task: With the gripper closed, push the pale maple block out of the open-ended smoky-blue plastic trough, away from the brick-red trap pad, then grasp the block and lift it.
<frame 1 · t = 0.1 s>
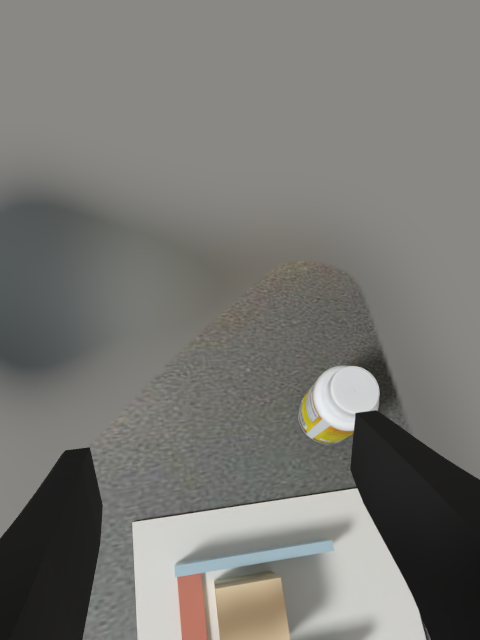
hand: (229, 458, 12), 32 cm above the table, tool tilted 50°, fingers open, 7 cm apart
maple block: (247, 609, 38), resting on white mat
white mat: (280, 617, 38), on the table
trough: (258, 607, 38), resting on white mat
supplement bottle: (323, 416, 46), on the table
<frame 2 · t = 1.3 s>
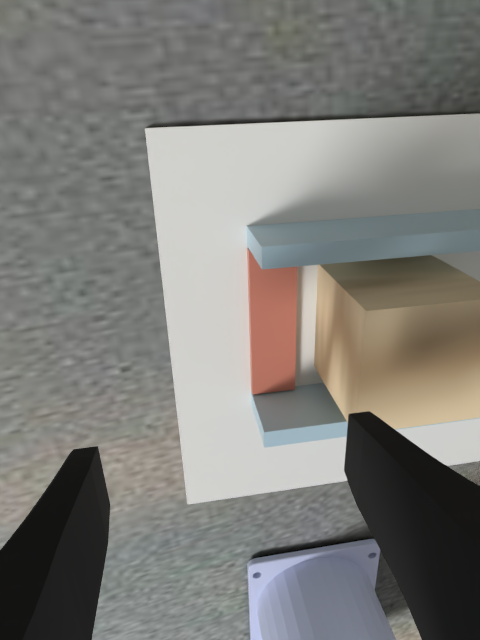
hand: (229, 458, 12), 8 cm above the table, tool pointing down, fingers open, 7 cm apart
maple block: (369, 311, 21), resting on white mat
white mat: (420, 323, 22), on the table
trough: (390, 309, 21), resting on white mat
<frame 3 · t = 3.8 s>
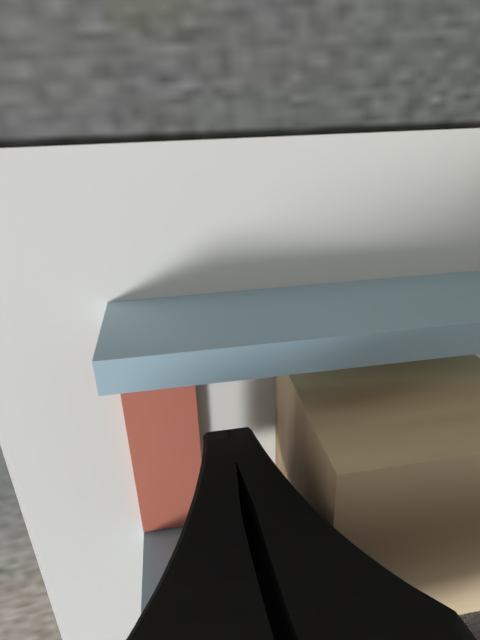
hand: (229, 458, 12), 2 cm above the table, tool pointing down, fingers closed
maple block: (354, 408, 14), resting on white mat, touching gripper
white mat: (389, 424, 15), on the table
trough: (343, 411, 14), resting on white mat
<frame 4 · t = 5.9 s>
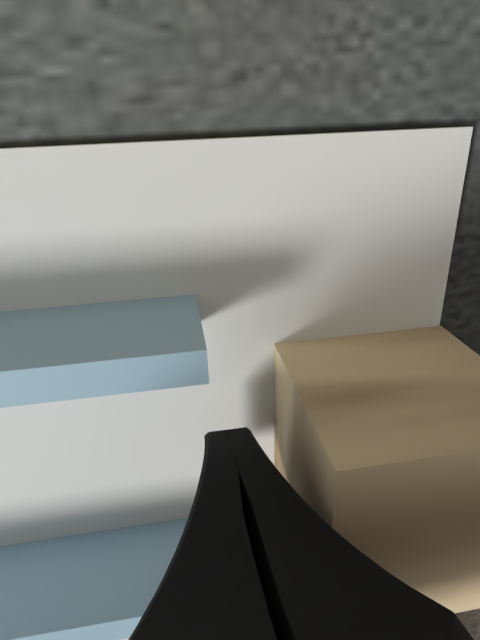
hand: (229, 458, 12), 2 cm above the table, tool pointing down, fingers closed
maple block: (353, 406, 14), resting on white mat, touching gripper
white mat: (49, 469, 14), on the table
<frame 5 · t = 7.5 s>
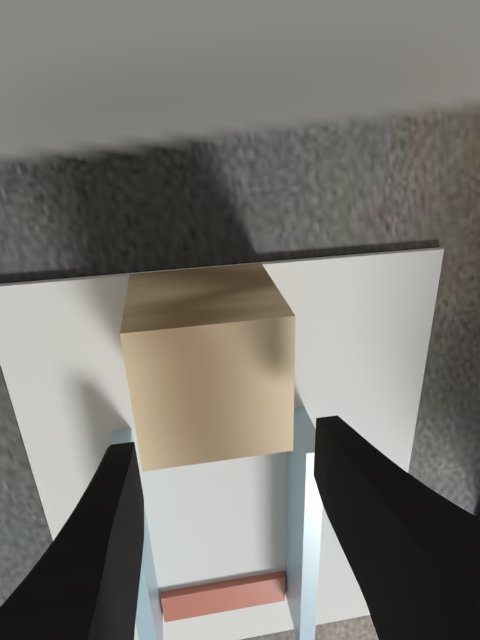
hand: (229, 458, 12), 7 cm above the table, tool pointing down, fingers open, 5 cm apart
maple block: (201, 327, 19), resting on white mat
white mat: (236, 489, 23), on the table
trough: (219, 522, 23), resting on white mat
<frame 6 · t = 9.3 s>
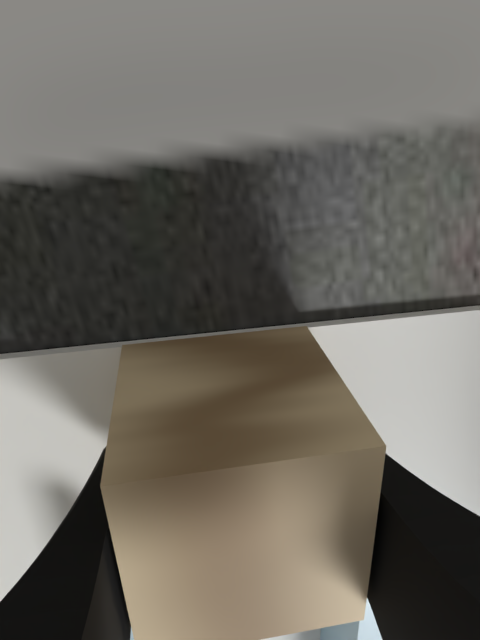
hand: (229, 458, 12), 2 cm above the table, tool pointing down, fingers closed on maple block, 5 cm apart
maple block: (221, 411, 13), resting on white mat, touching gripper
white mat: (258, 599, 18), on the table
trough: (235, 639, 18), resting on white mat
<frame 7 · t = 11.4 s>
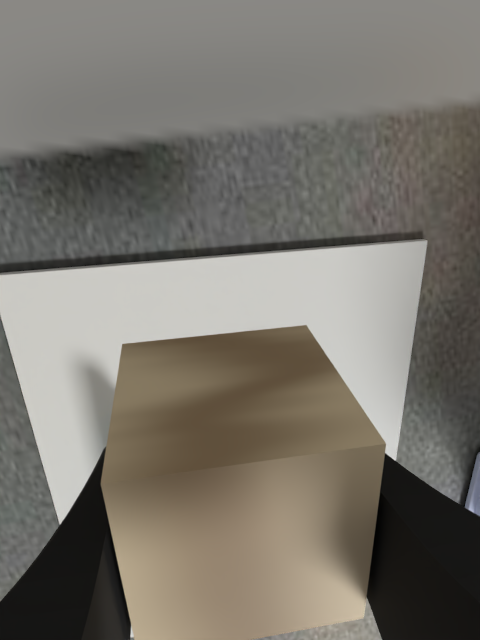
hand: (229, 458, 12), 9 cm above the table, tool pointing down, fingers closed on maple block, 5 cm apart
maple block: (221, 410, 13), point 7 cm above the table, touching gripper
white mat: (232, 471, 24), on the table
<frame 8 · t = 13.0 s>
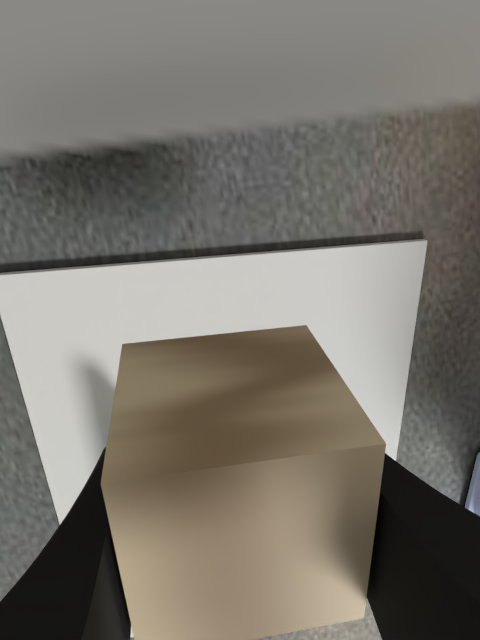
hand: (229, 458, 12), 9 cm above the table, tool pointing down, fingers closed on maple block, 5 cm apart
maple block: (221, 410, 13), point 7 cm above the table, touching gripper
white mat: (232, 471, 24), on the table
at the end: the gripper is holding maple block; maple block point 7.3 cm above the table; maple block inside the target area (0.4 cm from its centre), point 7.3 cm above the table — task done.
